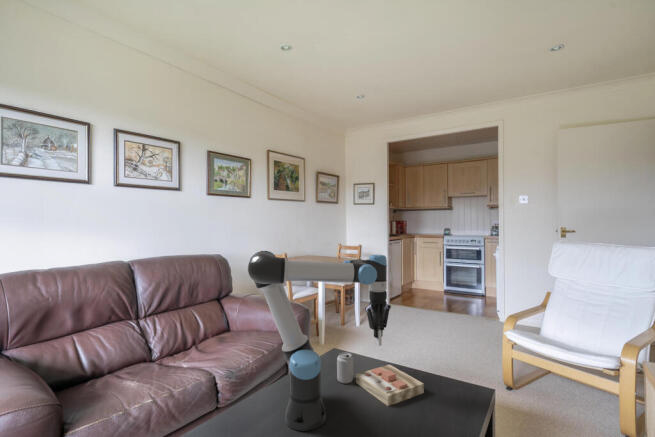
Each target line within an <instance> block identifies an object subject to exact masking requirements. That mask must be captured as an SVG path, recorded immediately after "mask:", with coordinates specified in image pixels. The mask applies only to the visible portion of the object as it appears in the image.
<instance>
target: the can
mask: <svg viewBox="0 0 655 437" xmlns="http://www.w3.org/2000/svg"><path fill="white" fill-rule="evenodd" d="M336 372H337V373H336V380H337V381H338V382H339V383H340V384H344V385H345V384H350V383H352V382H353V381H354V357H353V355H352V353H350V352H341V353H339V354H338V356H337V358H336Z"/></svg>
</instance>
